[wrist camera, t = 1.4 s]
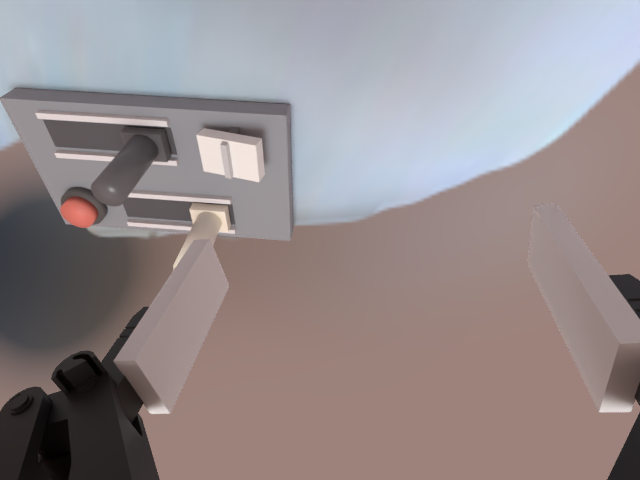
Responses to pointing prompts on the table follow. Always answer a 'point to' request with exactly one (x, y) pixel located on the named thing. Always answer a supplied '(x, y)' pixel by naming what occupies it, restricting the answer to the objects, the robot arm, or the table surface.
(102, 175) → the black lever
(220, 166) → the rocker
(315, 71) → the table surface
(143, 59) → the table surface
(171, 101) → the panel
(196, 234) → the cream tapered knob
